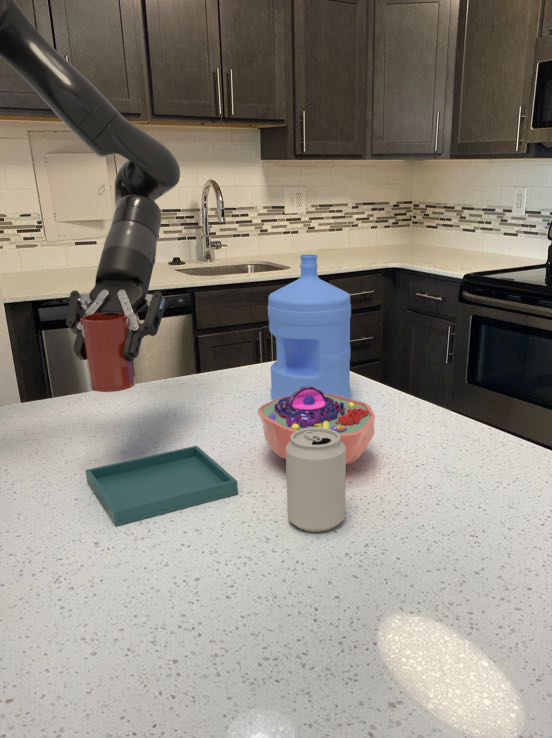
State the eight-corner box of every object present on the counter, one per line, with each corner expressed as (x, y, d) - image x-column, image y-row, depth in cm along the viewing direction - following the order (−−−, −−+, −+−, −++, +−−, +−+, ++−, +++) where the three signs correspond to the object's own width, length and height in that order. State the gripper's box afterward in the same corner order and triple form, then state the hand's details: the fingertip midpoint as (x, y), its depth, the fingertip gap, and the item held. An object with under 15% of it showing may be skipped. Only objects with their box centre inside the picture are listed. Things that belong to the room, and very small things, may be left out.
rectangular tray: (115, 526, 85) (113, 512, 84) (87, 482, 97) (85, 469, 96) (238, 494, 93) (237, 480, 93) (197, 457, 105) (196, 445, 105)
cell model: (291, 498, 92) (289, 422, 88) (246, 447, 109) (243, 381, 105) (397, 476, 98) (400, 404, 94) (339, 431, 115) (339, 369, 111)
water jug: (320, 384, 141) (319, 248, 131) (366, 403, 129) (369, 256, 119) (256, 397, 133) (250, 254, 123) (298, 419, 121) (295, 263, 111)
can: (317, 541, 81) (317, 451, 77) (275, 521, 86) (272, 435, 82) (357, 519, 86) (358, 433, 82) (314, 501, 91) (314, 419, 87)
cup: (96, 394, 91) (86, 323, 88) (85, 383, 96) (75, 315, 93) (141, 387, 94) (132, 317, 91) (128, 376, 99) (120, 310, 96)
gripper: (71, 243, 96) (42, 343, 90) (166, 243, 95) (144, 345, 88) (92, 275, 103) (67, 369, 96) (181, 276, 101) (162, 372, 95)
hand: (104, 357), depth 92 cm, fingers closed on cup, 6 cm apart
